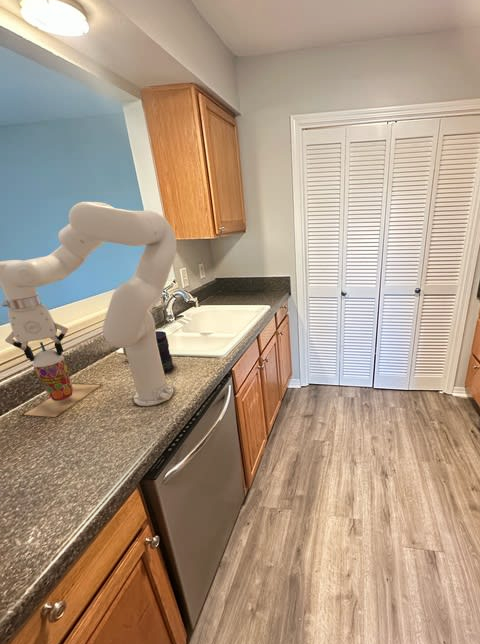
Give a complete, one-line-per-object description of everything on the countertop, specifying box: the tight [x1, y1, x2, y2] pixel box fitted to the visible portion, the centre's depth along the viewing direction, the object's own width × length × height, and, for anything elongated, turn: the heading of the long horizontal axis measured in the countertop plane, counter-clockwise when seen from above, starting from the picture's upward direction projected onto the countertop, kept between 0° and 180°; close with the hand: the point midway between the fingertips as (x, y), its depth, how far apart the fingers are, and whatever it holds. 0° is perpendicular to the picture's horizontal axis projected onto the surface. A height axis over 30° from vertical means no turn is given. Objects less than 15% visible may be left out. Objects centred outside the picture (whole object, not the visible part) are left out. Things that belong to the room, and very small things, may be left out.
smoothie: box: [31, 341, 73, 401], centre depth 106 cm, size 8×8×20 cm
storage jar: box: [155, 330, 174, 375], centre depth 127 cm, size 10×10×15 cm
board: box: [23, 383, 101, 418], centre depth 112 cm, size 20×12×1 cm, turn 171°
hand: (46, 356), depth 104 cm, fingers closed on smoothie, 6 cm apart
